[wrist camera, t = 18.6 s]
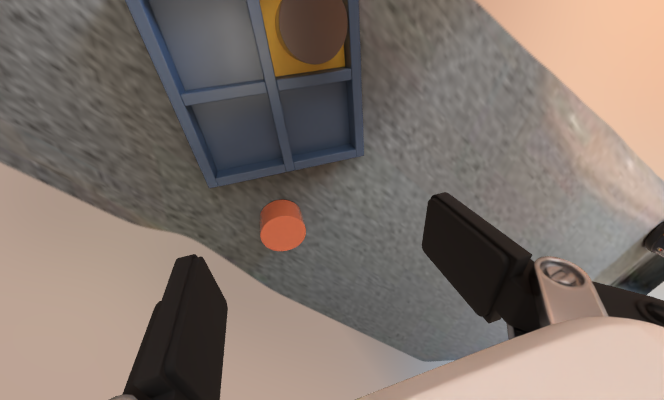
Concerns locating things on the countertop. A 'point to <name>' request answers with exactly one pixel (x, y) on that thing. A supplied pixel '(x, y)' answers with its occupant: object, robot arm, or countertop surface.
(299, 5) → the cylinder
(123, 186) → the countertop surface
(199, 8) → the grid
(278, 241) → the cylinder
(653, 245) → the supplement container
